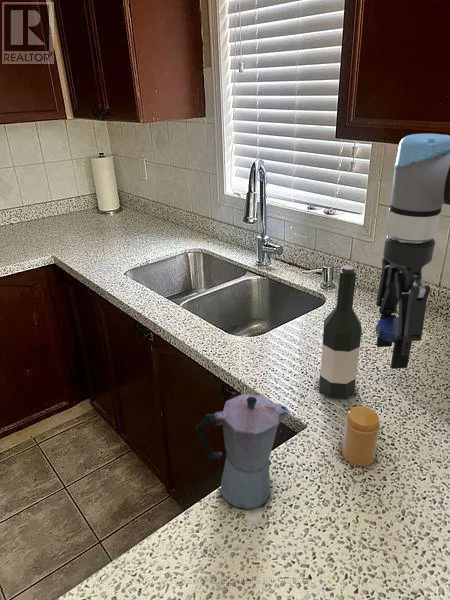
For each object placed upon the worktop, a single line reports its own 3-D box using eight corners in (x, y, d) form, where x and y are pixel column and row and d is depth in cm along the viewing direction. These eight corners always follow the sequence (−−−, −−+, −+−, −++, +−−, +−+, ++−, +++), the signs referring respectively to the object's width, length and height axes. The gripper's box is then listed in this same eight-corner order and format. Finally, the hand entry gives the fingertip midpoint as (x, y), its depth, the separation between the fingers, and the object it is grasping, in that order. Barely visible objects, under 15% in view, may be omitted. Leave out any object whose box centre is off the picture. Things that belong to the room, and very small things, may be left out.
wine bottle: (326, 401, 99) (337, 277, 85) (312, 379, 106) (320, 262, 92) (361, 396, 100) (378, 272, 86) (345, 374, 107) (357, 257, 94)
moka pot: (296, 500, 76) (301, 409, 67) (208, 525, 72) (202, 432, 63) (274, 459, 84) (277, 373, 75) (195, 480, 81) (187, 391, 72)
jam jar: (377, 448, 86) (383, 410, 82) (371, 470, 81) (377, 431, 77) (346, 438, 89) (350, 401, 84) (338, 459, 84) (342, 421, 80)
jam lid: (374, 323, 84) (375, 315, 83) (411, 326, 82) (412, 318, 81) (377, 341, 78) (378, 333, 77) (416, 345, 77) (417, 336, 76)
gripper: (465, 256, 63) (436, 387, 74) (407, 218, 81) (390, 328, 91) (413, 259, 63) (391, 390, 74) (367, 220, 80) (354, 330, 91)
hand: (391, 355), depth 82 cm, fingers closed on jam lid, 6 cm apart
